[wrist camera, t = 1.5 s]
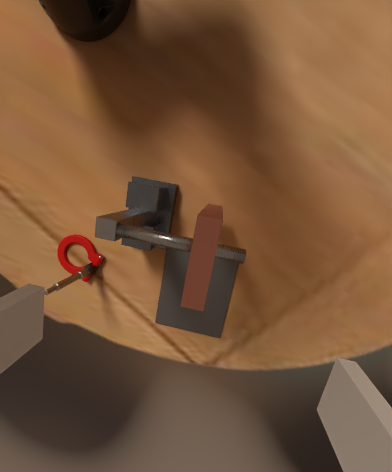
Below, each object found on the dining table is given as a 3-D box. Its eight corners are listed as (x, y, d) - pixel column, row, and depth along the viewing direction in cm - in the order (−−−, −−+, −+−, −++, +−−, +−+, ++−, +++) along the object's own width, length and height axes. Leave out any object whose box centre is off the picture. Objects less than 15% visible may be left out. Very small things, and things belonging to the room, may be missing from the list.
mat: (168, 241, 43) (168, 242, 43) (239, 256, 42) (239, 257, 42) (155, 321, 48) (155, 322, 47) (220, 337, 47) (220, 338, 46)
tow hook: (54, 256, 48) (88, 283, 48) (-9, 277, 35) (37, 314, 35) (73, 226, 46) (108, 254, 46) (14, 237, 33) (62, 276, 33)
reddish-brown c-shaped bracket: (208, 203, 37) (197, 215, 21) (222, 206, 37) (222, 220, 21) (197, 257, 39) (180, 306, 23) (210, 260, 39) (203, 311, 23)
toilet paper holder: (136, 176, 42) (75, 168, 24) (242, 197, 40) (258, 204, 23) (129, 238, 44) (69, 270, 27) (228, 259, 43) (232, 307, 26)
